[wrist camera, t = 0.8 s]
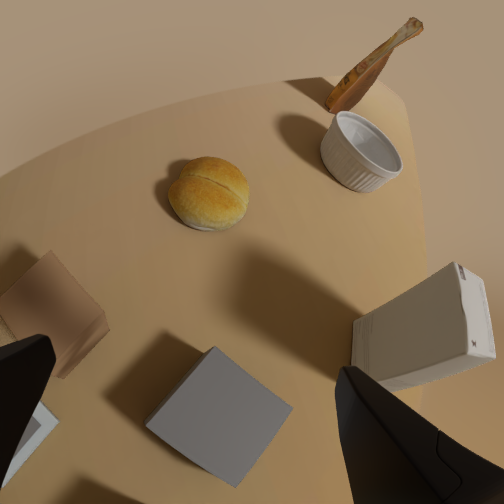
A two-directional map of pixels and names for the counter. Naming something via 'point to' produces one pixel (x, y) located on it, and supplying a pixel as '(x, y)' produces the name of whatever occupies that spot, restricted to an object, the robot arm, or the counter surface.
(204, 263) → the counter surface
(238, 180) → the bread roll
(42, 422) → the card
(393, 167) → the ramekin
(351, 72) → the pancake mix bag
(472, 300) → the skincare box
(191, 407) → the charcoal block
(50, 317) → the walnut cube
